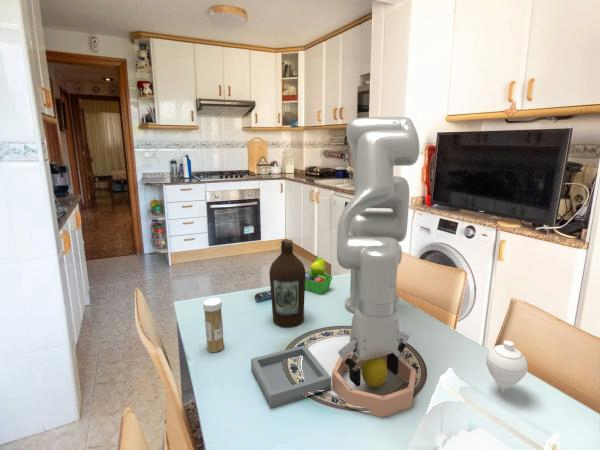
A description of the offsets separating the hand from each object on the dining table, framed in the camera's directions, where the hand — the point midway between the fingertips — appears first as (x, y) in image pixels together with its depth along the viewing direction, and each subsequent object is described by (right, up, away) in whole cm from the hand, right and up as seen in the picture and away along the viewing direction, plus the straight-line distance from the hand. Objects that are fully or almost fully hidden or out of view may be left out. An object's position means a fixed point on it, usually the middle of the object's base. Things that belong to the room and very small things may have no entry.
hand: (373, 376), depth 80 cm
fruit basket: (-11, +10, +54) cm, 55 cm away
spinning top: (+27, -3, -2) cm, 27 cm away
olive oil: (-20, +4, +31) cm, 37 cm away
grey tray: (-19, -2, +3) cm, 19 cm away
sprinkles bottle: (-39, +1, +16) cm, 42 cm away
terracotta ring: (0, -2, +1) cm, 3 cm away
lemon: (0, -3, +1) cm, 3 cm away
